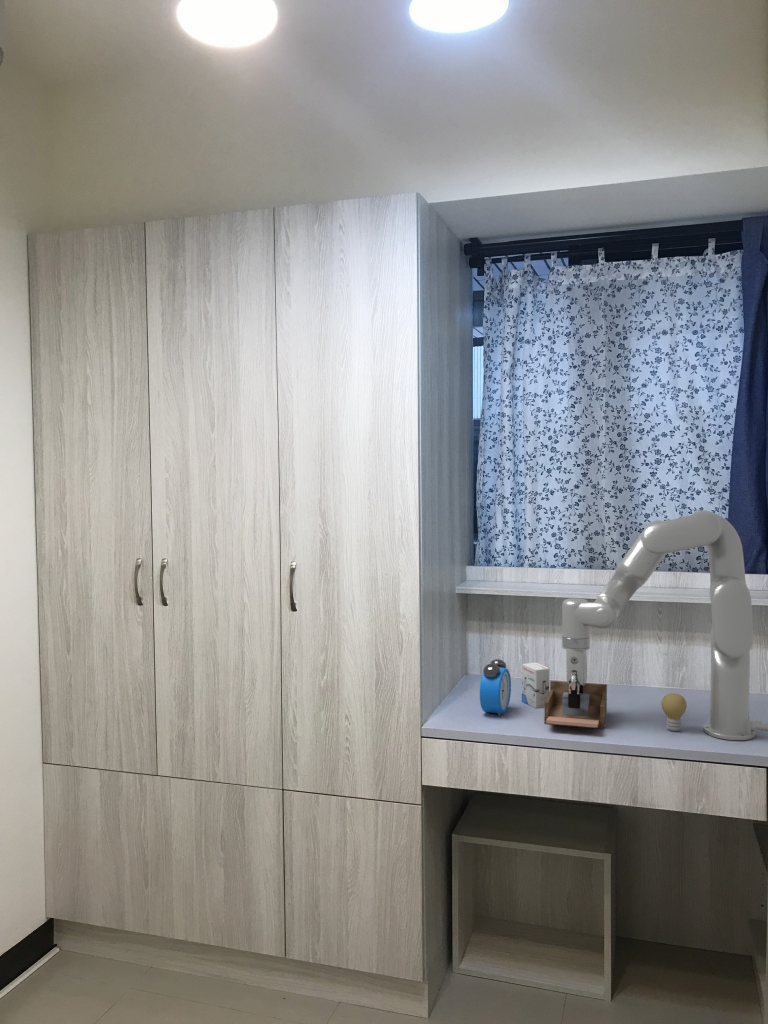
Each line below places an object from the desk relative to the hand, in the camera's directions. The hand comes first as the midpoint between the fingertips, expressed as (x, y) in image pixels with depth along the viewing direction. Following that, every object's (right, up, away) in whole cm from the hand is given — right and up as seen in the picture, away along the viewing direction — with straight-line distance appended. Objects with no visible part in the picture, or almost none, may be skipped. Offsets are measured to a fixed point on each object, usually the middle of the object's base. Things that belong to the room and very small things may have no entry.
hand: (575, 703), depth 234 cm
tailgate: (-2, -3, -6) cm, 7 cm away
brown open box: (+1, -5, +2) cm, 5 cm away
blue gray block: (0, -3, 0) cm, 3 cm away
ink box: (-8, -4, +17) cm, 19 cm away
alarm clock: (-22, -5, +8) cm, 24 cm away
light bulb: (+24, -5, -10) cm, 27 cm away
